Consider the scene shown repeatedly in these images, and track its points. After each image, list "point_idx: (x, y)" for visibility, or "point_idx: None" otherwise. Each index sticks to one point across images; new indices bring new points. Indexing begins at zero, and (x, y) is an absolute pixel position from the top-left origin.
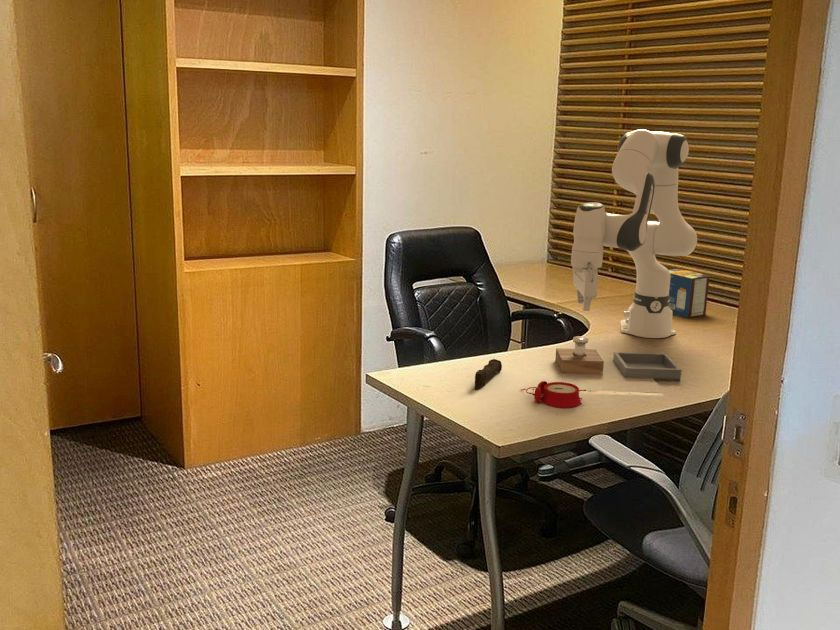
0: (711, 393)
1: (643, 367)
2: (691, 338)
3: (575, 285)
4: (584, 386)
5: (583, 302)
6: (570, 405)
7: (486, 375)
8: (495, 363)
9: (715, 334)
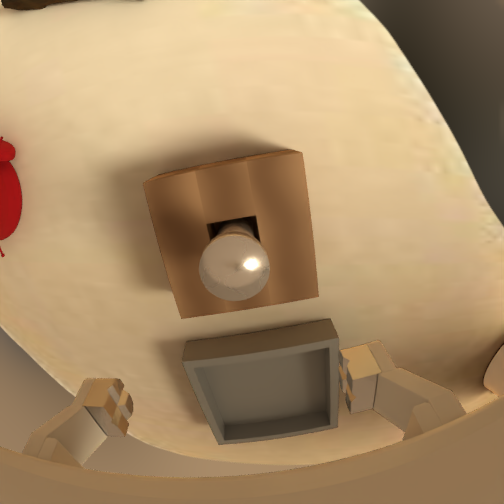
0: (170, 447)
1: (282, 383)
2: None
3: (427, 447)
4: (93, 245)
5: (340, 384)
6: None
7: (29, 2)
8: None
9: None
